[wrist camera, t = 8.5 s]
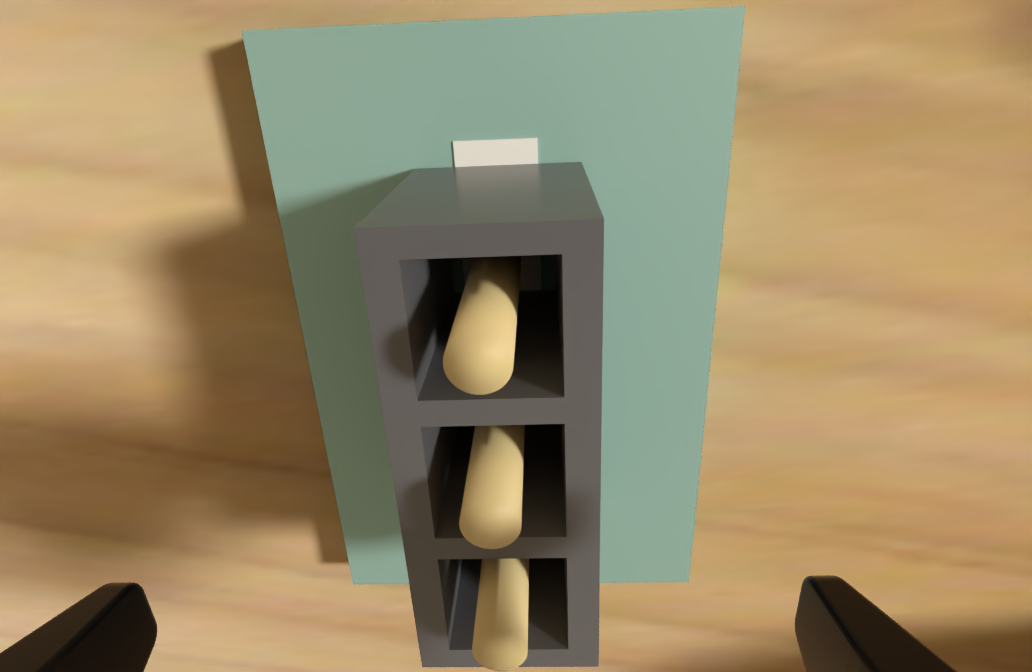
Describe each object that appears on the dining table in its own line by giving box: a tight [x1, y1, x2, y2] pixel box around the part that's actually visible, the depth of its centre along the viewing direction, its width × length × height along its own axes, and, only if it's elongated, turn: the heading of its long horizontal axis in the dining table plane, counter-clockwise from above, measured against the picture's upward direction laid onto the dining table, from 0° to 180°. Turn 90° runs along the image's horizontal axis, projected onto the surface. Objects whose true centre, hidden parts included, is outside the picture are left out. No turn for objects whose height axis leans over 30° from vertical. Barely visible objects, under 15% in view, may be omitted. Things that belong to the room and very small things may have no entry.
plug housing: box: [354, 162, 604, 667], centre depth 13 cm, size 9×4×5 cm, turn 3°
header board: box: [242, 6, 745, 671], centre depth 13 cm, size 15×10×7 cm, turn 2°
